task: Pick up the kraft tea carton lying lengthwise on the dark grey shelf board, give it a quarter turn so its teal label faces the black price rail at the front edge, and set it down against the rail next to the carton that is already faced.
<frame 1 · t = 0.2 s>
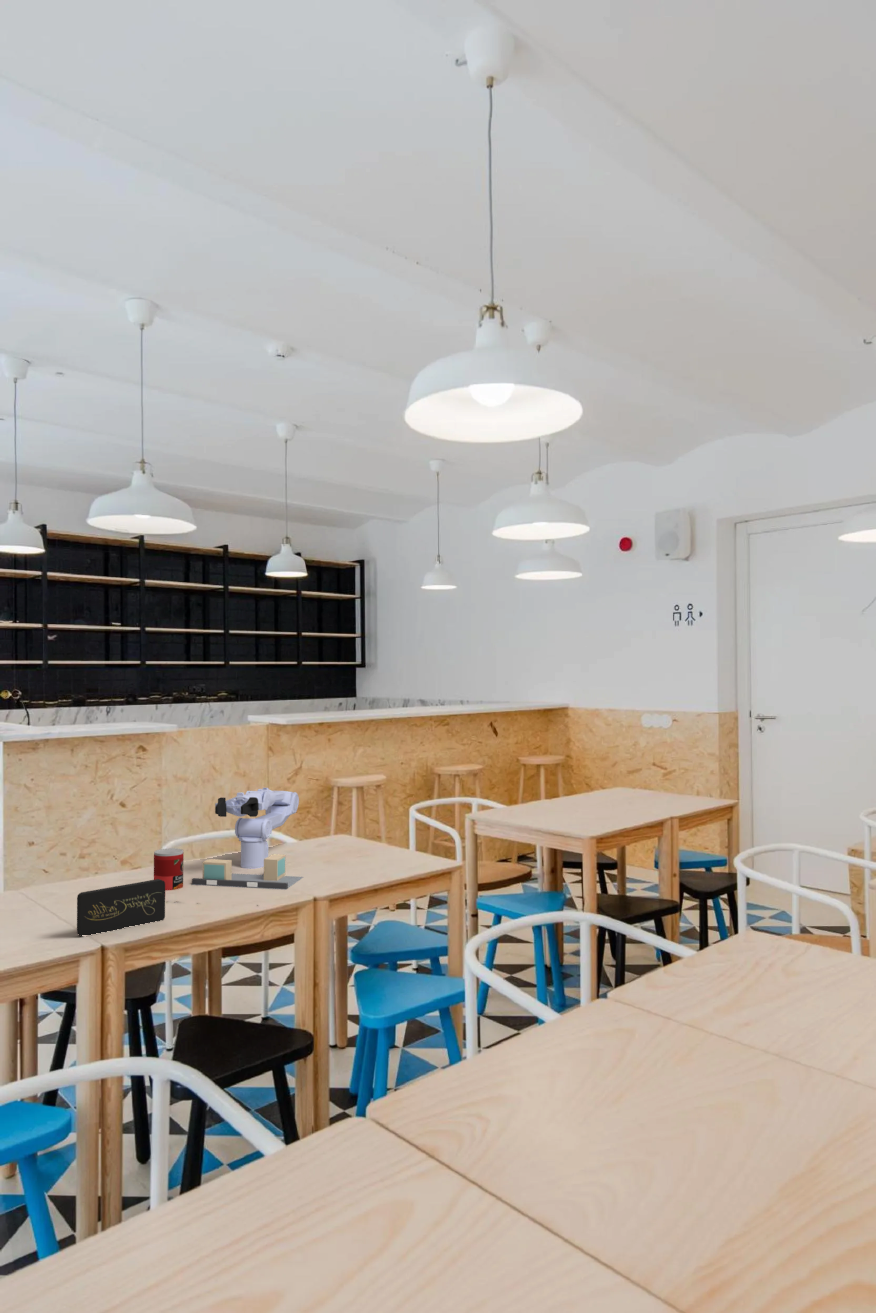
hand: (229, 810, 255), 21 cm above the table, tool horizontal, fingers open, 7 cm apart
nameplate: (122, 928, 212), on the table
faced carton: (217, 882, 253), point 1 cm above the table, touching shelf board
canned food: (168, 891, 247), on the table
tea carton: (274, 877, 259), point 1 cm above the table, touching shelf board
shelf board: (248, 884, 255), on the table
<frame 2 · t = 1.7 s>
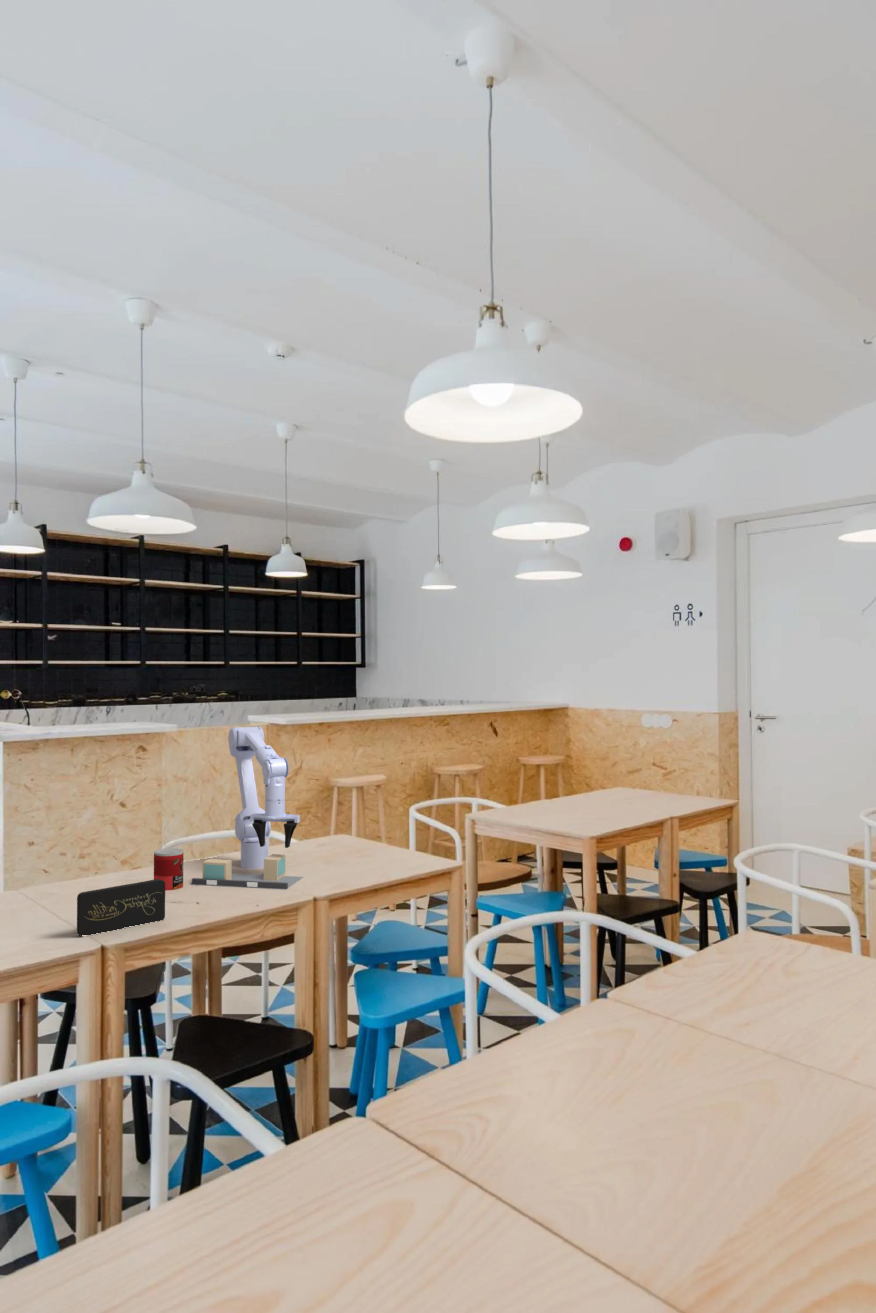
hand: (274, 846, 259), 10 cm above the table, tool pointing down, fingers open, 7 cm apart
nothing on the table moved.
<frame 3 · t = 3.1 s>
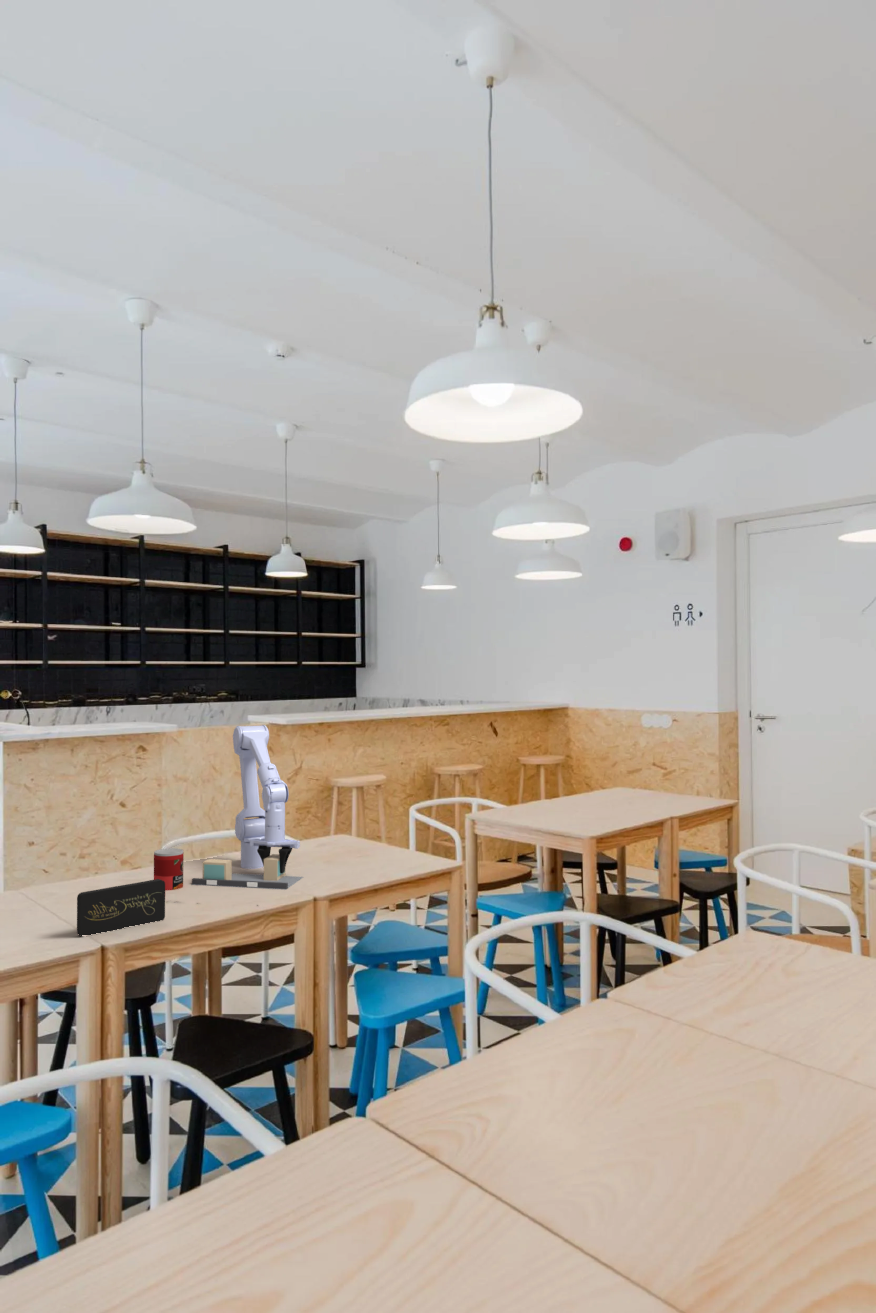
hand: (274, 872, 259), 3 cm above the table, tool pointing down, fingers closed on tea carton, 4 cm apart
tea carton: (274, 877, 259), point 1 cm above the table, touching gripper, shelf board
everything else where it was.
when the fingers open (4 cm above the table, at t = 6.3 s): tea carton drops 1 cm, resting on shelf board.
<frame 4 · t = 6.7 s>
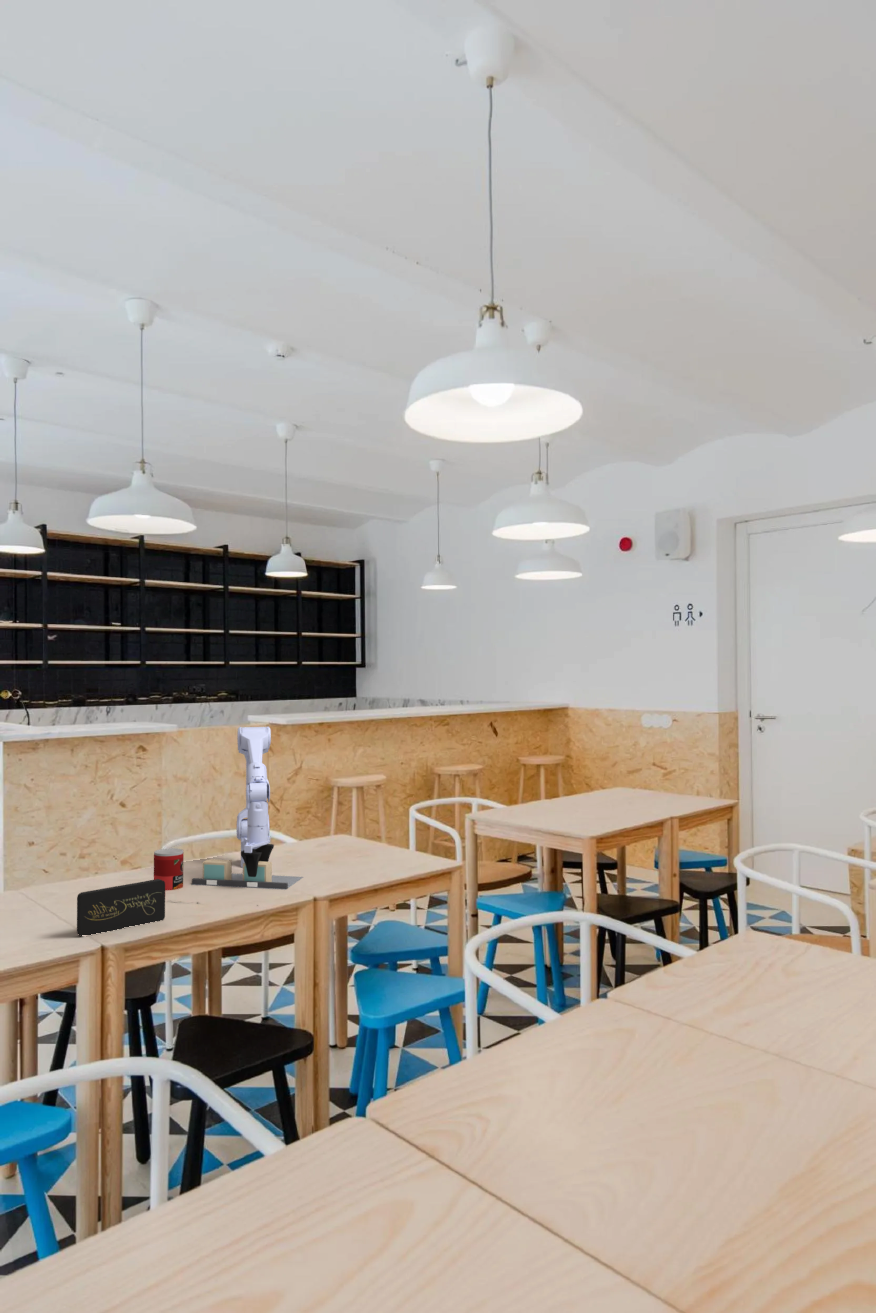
hand: (257, 873, 251), 4 cm above the table, tool pointing down, fingers open, 7 cm apart
tea carton: (257, 884, 251), point 1 cm above the table, touching shelf board
everything else where it was.
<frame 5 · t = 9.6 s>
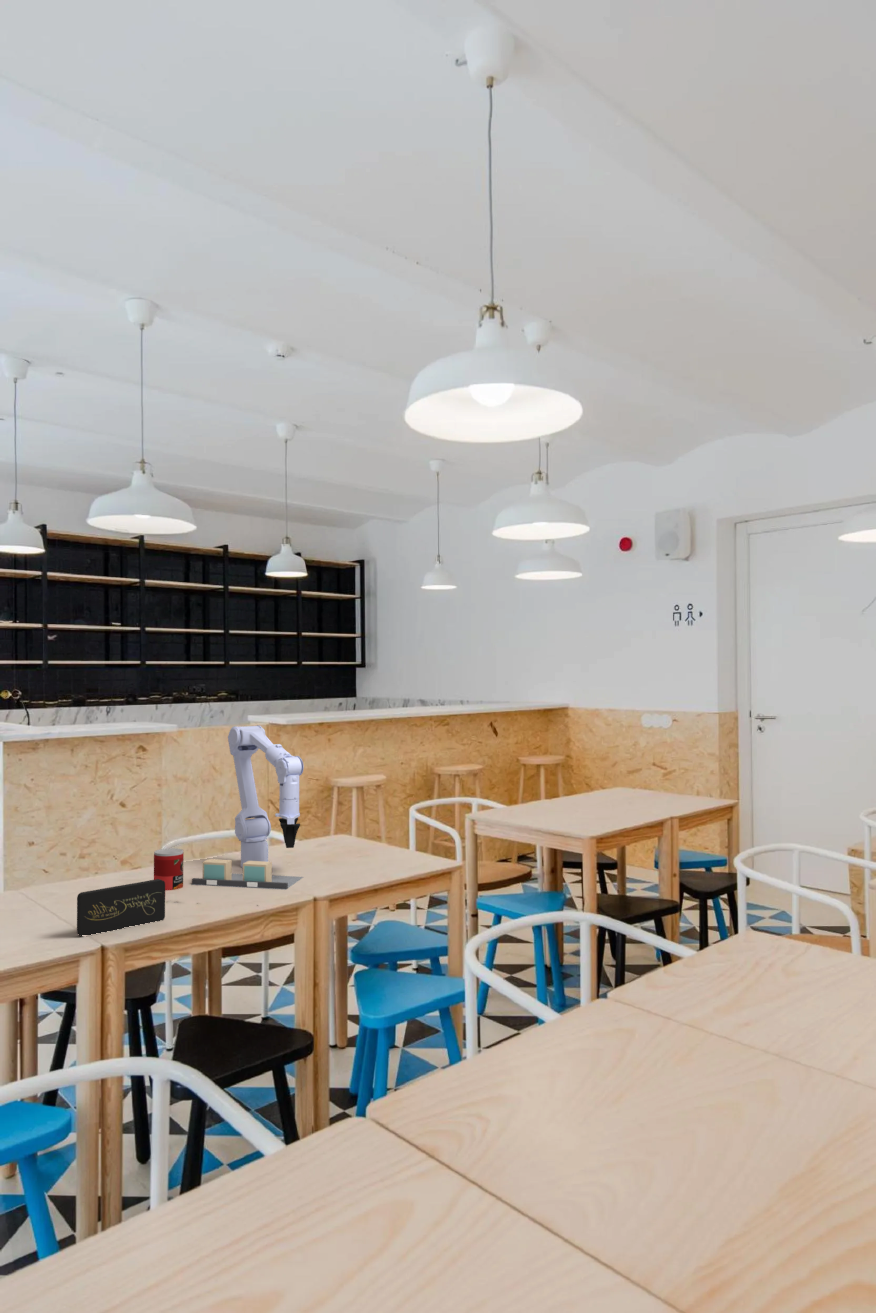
hand: (289, 845, 259), 10 cm above the table, tool pointing down, fingers open, 7 cm apart
nothing on the table moved.
at the end: tea carton 0.1 cm from the target spot, point 1.0 cm above the table; tea carton tilted 0°; tea carton moved 8.5 cm from its start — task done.
